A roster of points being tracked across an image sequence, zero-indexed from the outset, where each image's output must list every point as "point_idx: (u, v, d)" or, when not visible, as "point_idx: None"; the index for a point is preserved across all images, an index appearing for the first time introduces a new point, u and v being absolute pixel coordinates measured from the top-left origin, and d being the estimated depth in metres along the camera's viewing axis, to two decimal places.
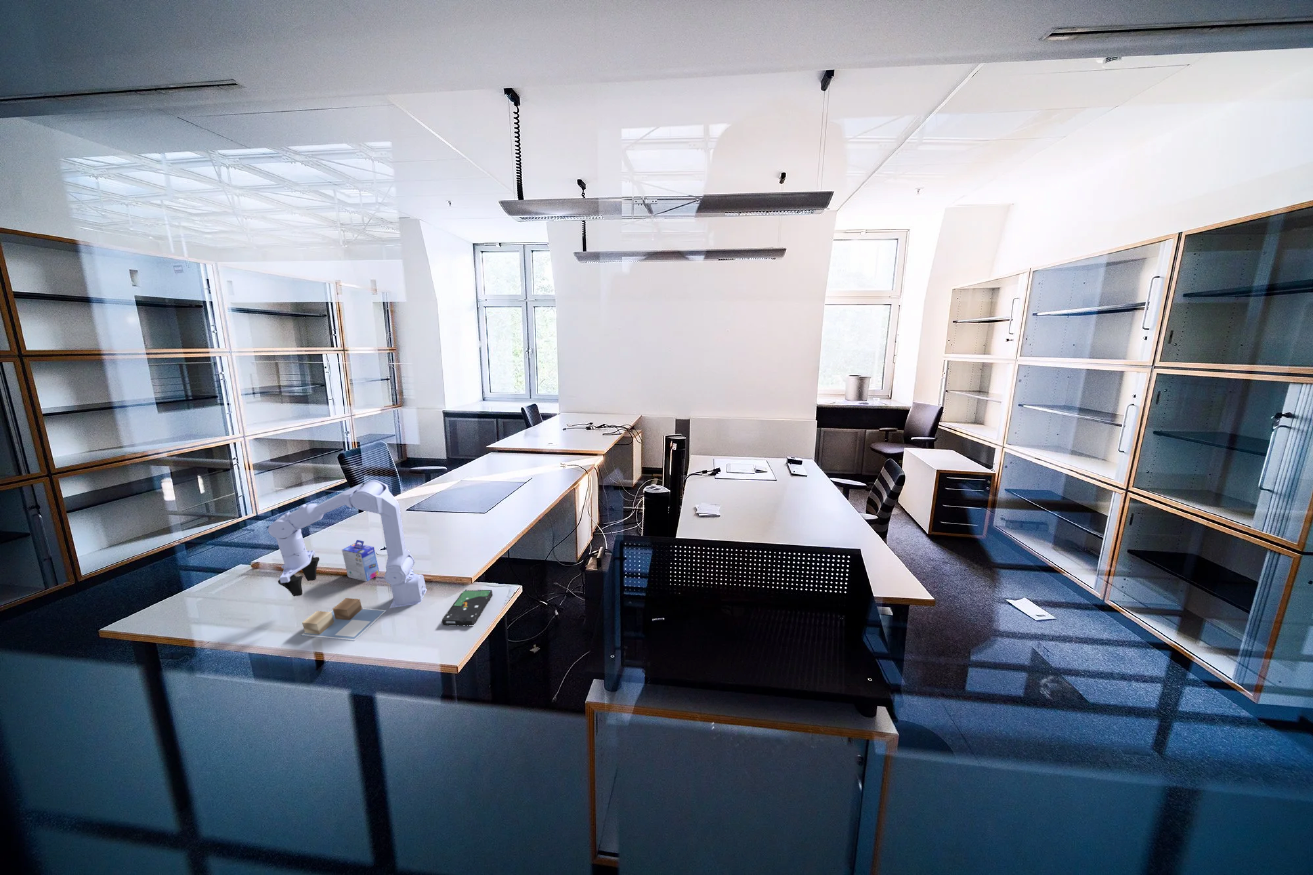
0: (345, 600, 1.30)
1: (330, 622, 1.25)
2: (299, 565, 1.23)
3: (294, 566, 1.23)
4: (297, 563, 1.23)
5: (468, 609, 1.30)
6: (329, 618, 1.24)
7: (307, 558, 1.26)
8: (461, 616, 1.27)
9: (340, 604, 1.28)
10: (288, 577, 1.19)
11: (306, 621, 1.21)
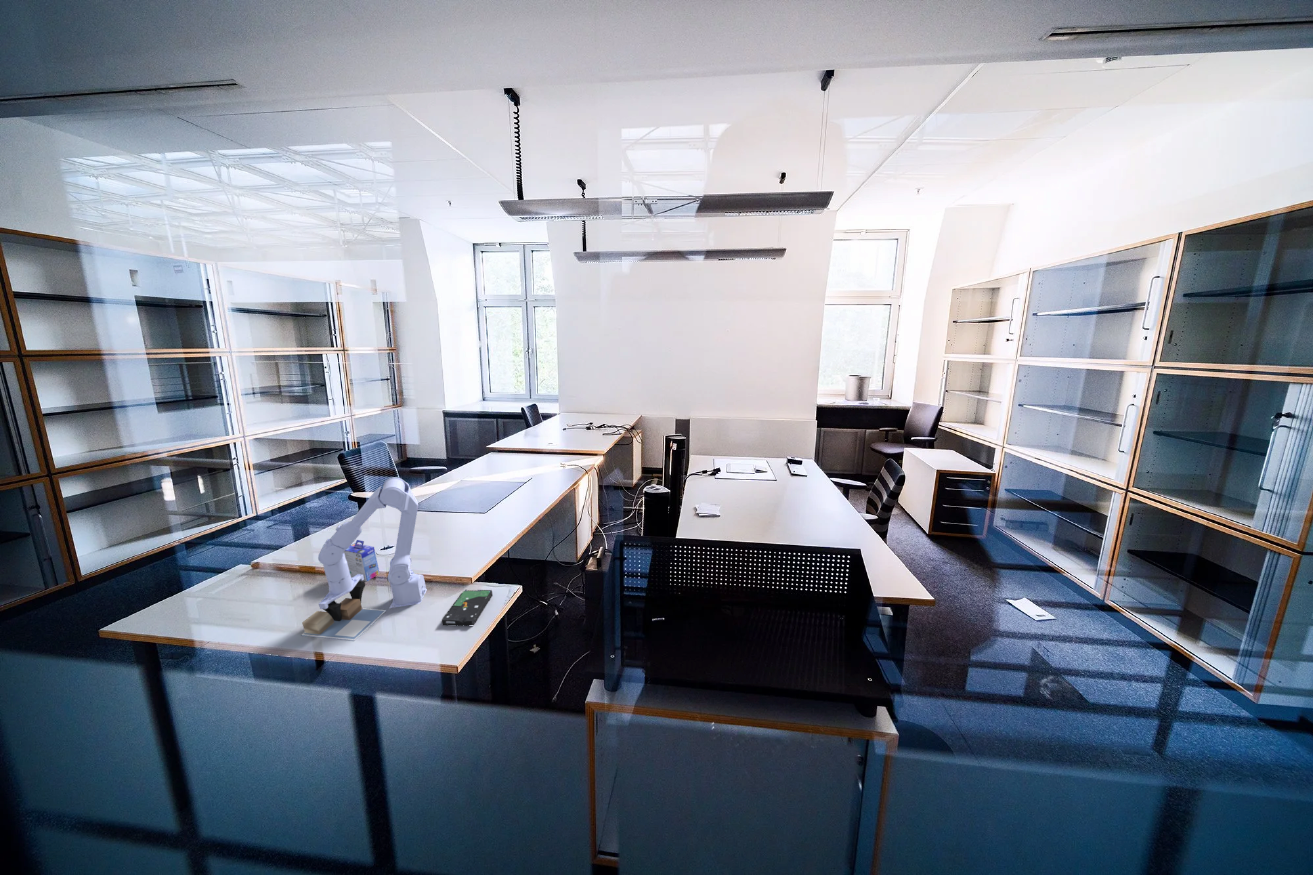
0: (345, 600, 1.30)
1: (330, 622, 1.25)
2: (340, 592, 1.24)
3: (335, 592, 1.24)
4: (338, 590, 1.24)
5: (468, 609, 1.30)
6: (329, 618, 1.24)
7: (349, 585, 1.26)
8: (461, 616, 1.27)
9: None
10: (326, 604, 1.20)
11: (306, 621, 1.21)
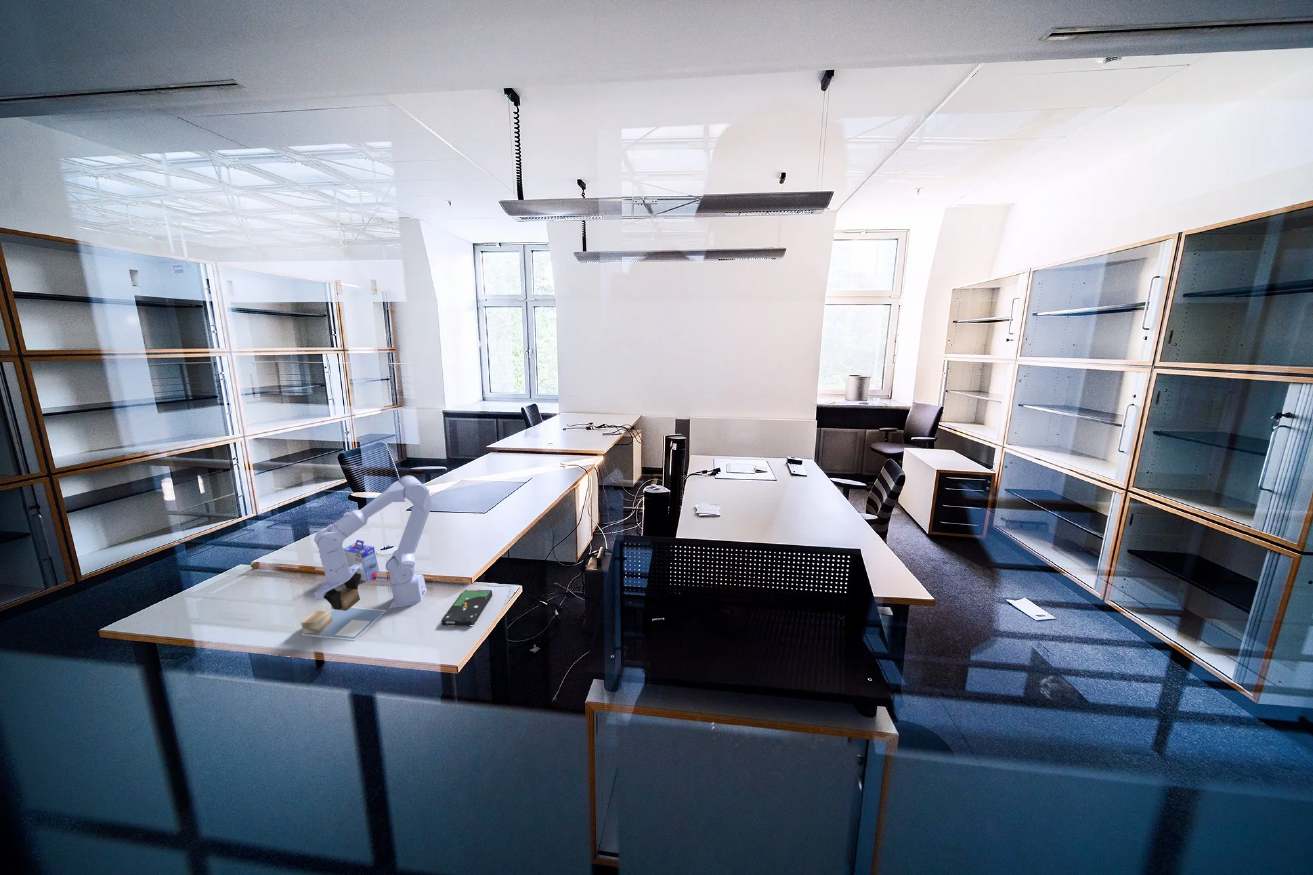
0: (342, 590, 1.24)
1: (329, 621, 1.25)
2: (337, 581, 1.19)
3: (332, 581, 1.18)
4: (335, 579, 1.18)
5: (467, 609, 1.30)
6: (328, 617, 1.25)
7: (347, 574, 1.21)
8: (460, 616, 1.27)
9: None
10: (322, 594, 1.15)
11: (305, 621, 1.21)
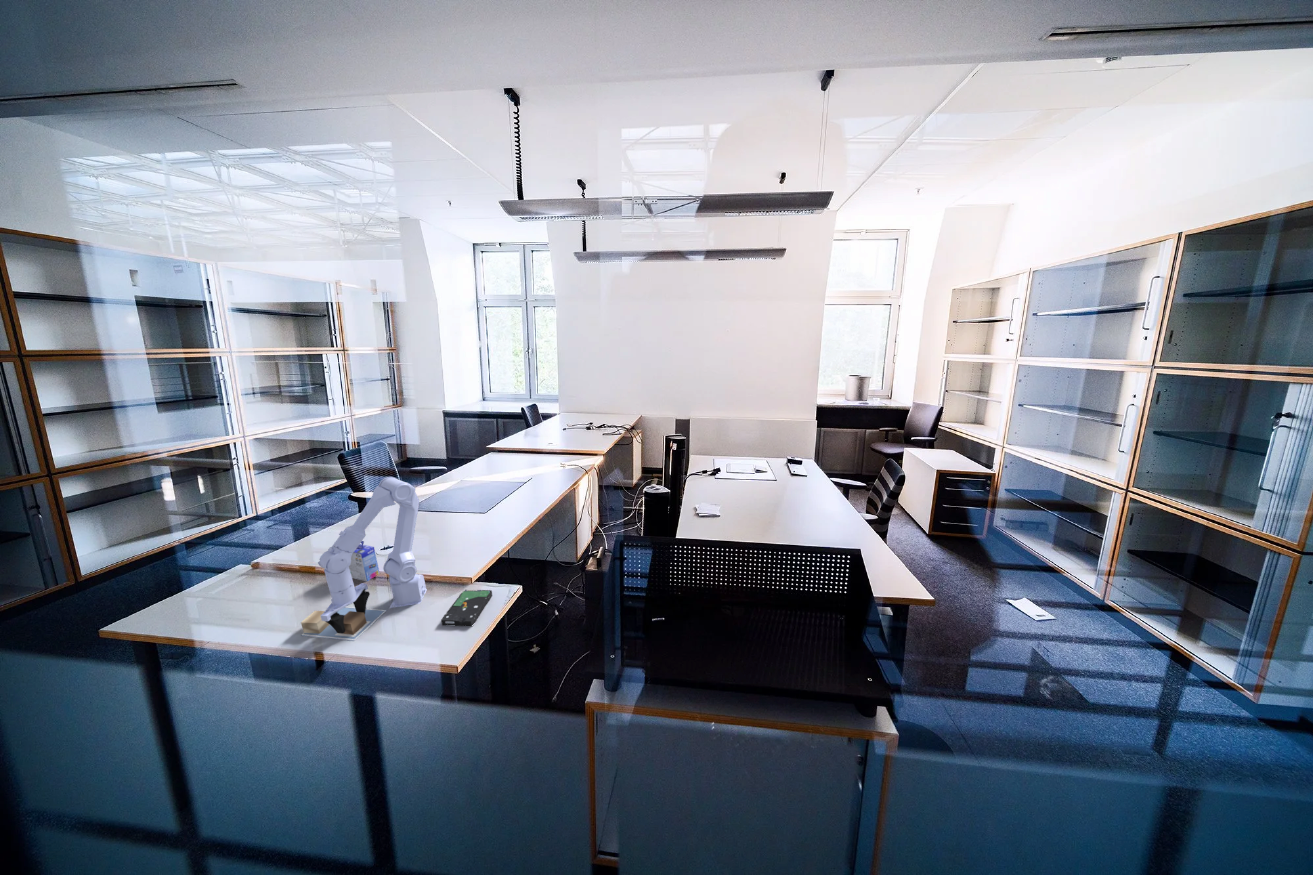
0: (349, 613, 1.24)
1: None
2: (343, 603, 1.18)
3: (338, 603, 1.18)
4: (341, 600, 1.18)
5: (467, 609, 1.30)
6: None
7: (353, 595, 1.20)
8: (460, 616, 1.27)
9: None
10: (328, 616, 1.14)
11: (305, 621, 1.21)
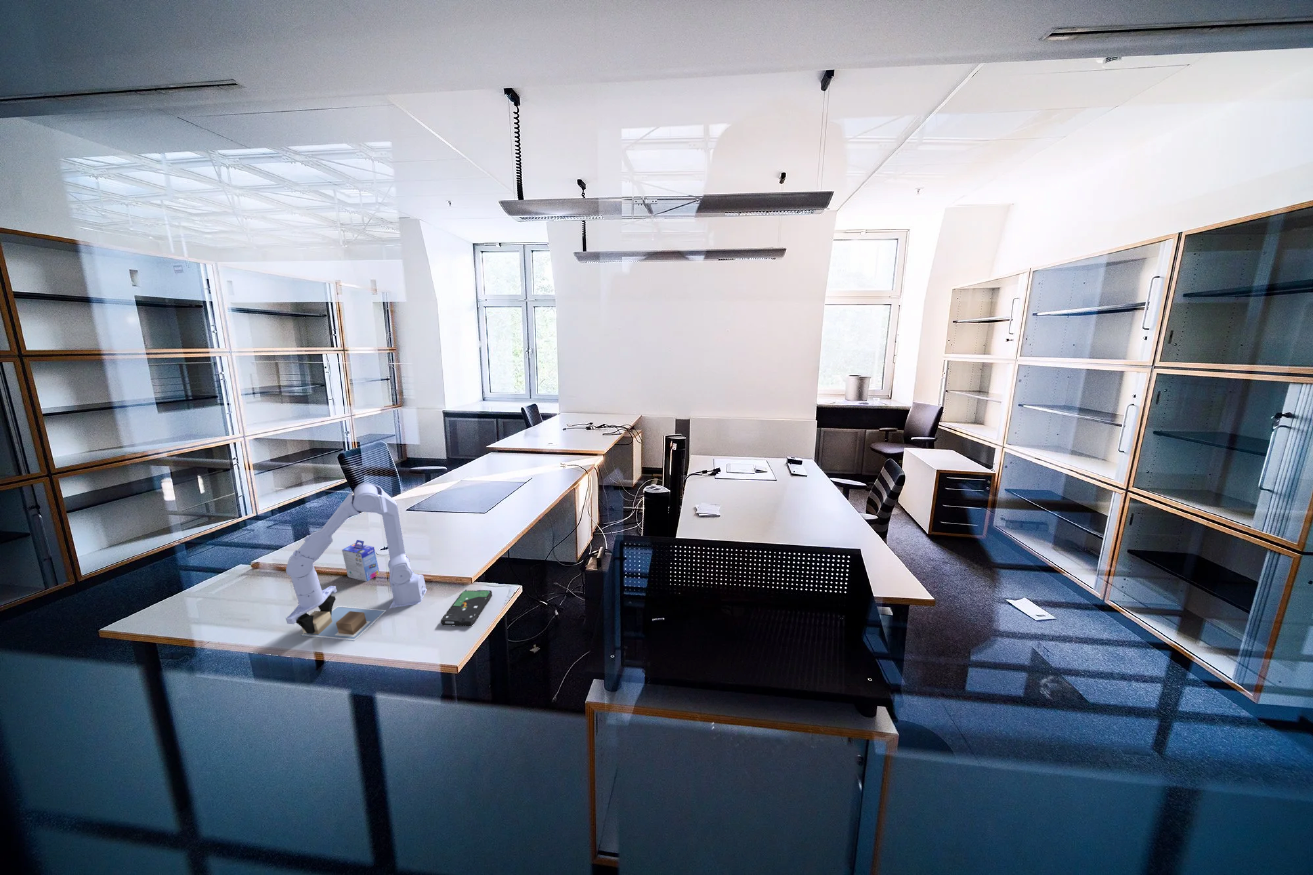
0: (349, 613, 1.24)
1: (328, 622, 1.25)
2: (309, 605, 1.19)
3: (304, 606, 1.18)
4: (307, 603, 1.18)
5: (467, 609, 1.30)
6: (328, 617, 1.25)
7: (320, 598, 1.21)
8: (460, 617, 1.27)
9: (343, 618, 1.22)
10: (293, 619, 1.15)
11: None
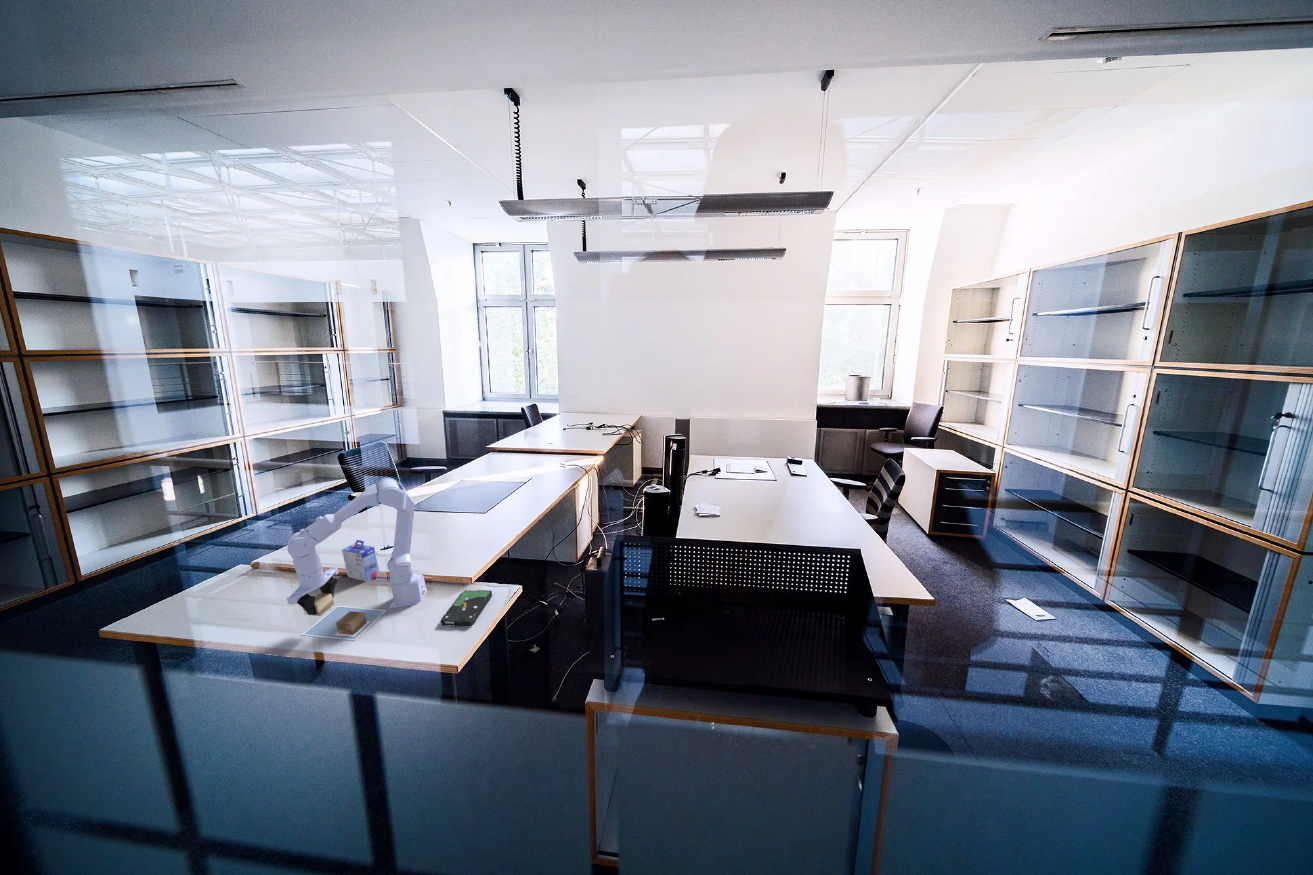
0: (349, 613, 1.24)
1: (330, 604, 1.23)
2: (311, 586, 1.17)
3: (306, 586, 1.16)
4: (309, 584, 1.16)
5: (467, 609, 1.30)
6: (329, 600, 1.23)
7: (321, 579, 1.19)
8: (459, 617, 1.27)
9: (343, 618, 1.22)
10: (294, 599, 1.13)
11: None
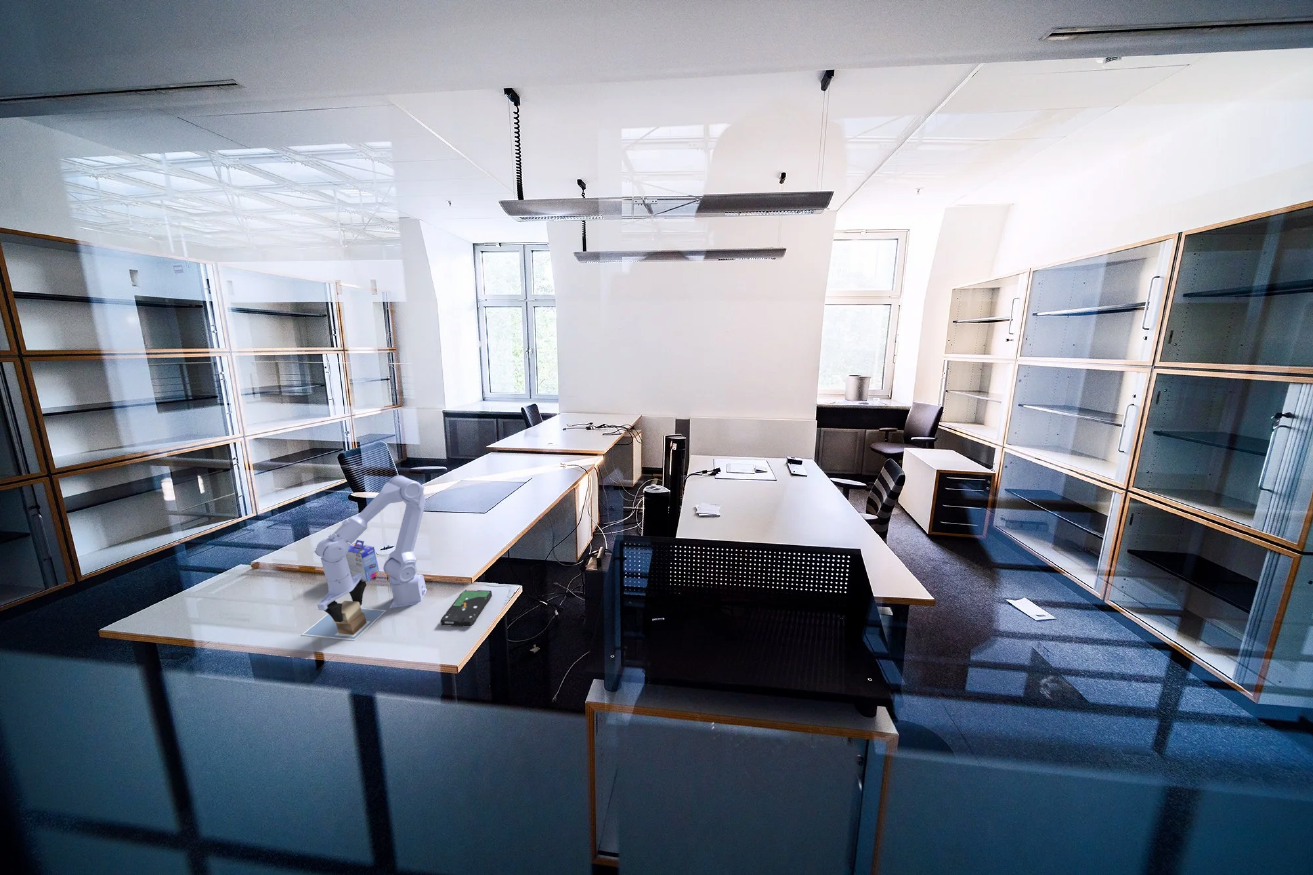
0: None
1: (358, 612, 1.24)
2: (340, 592, 1.17)
3: (335, 592, 1.17)
4: (338, 590, 1.17)
5: (467, 609, 1.30)
6: (357, 607, 1.23)
7: (350, 585, 1.19)
8: (459, 617, 1.27)
9: None
10: (325, 605, 1.13)
11: None
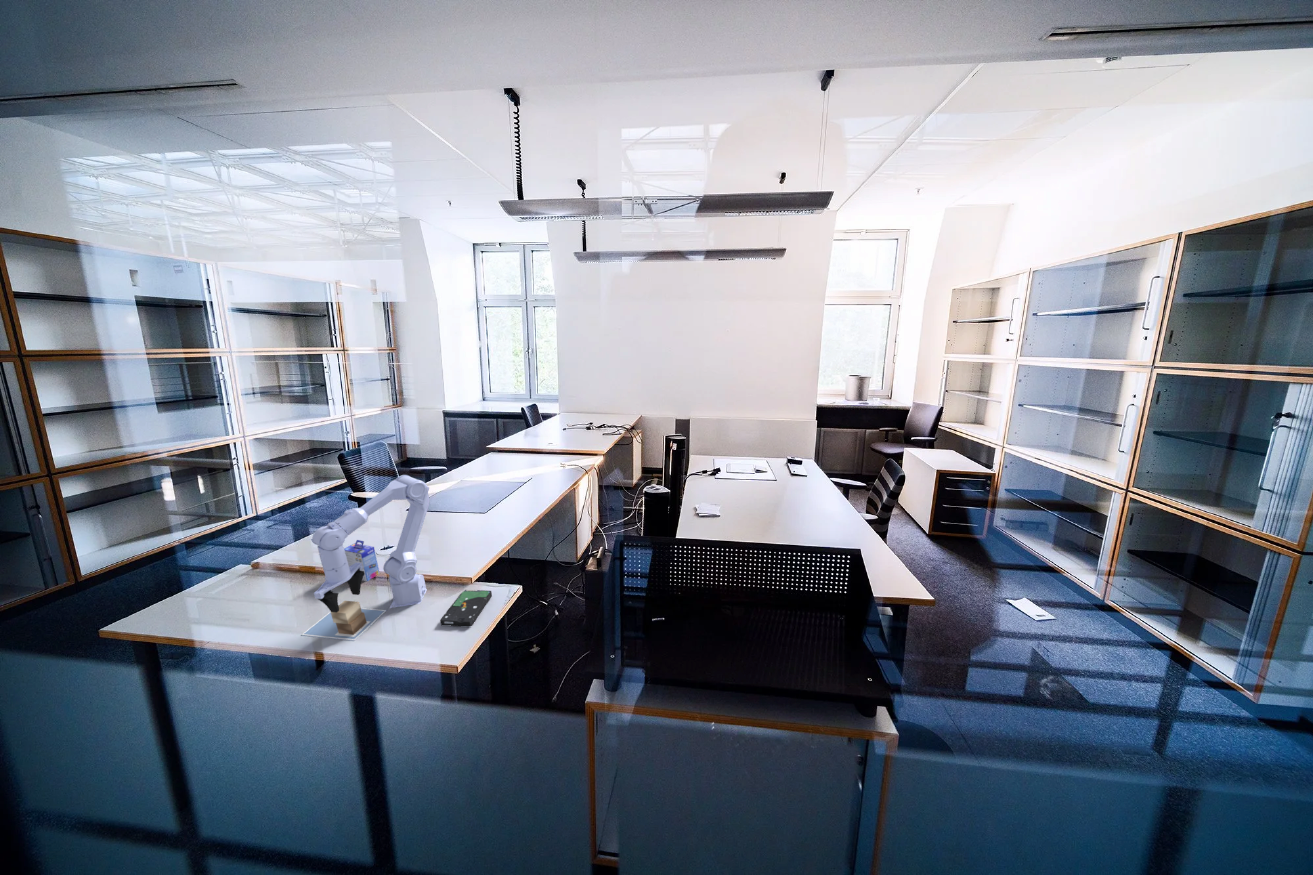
0: None
1: (358, 612, 1.24)
2: (337, 581, 1.16)
3: (332, 581, 1.15)
4: (335, 578, 1.15)
5: (466, 609, 1.30)
6: (357, 607, 1.23)
7: (347, 574, 1.18)
8: (459, 617, 1.27)
9: None
10: (321, 594, 1.12)
11: None
